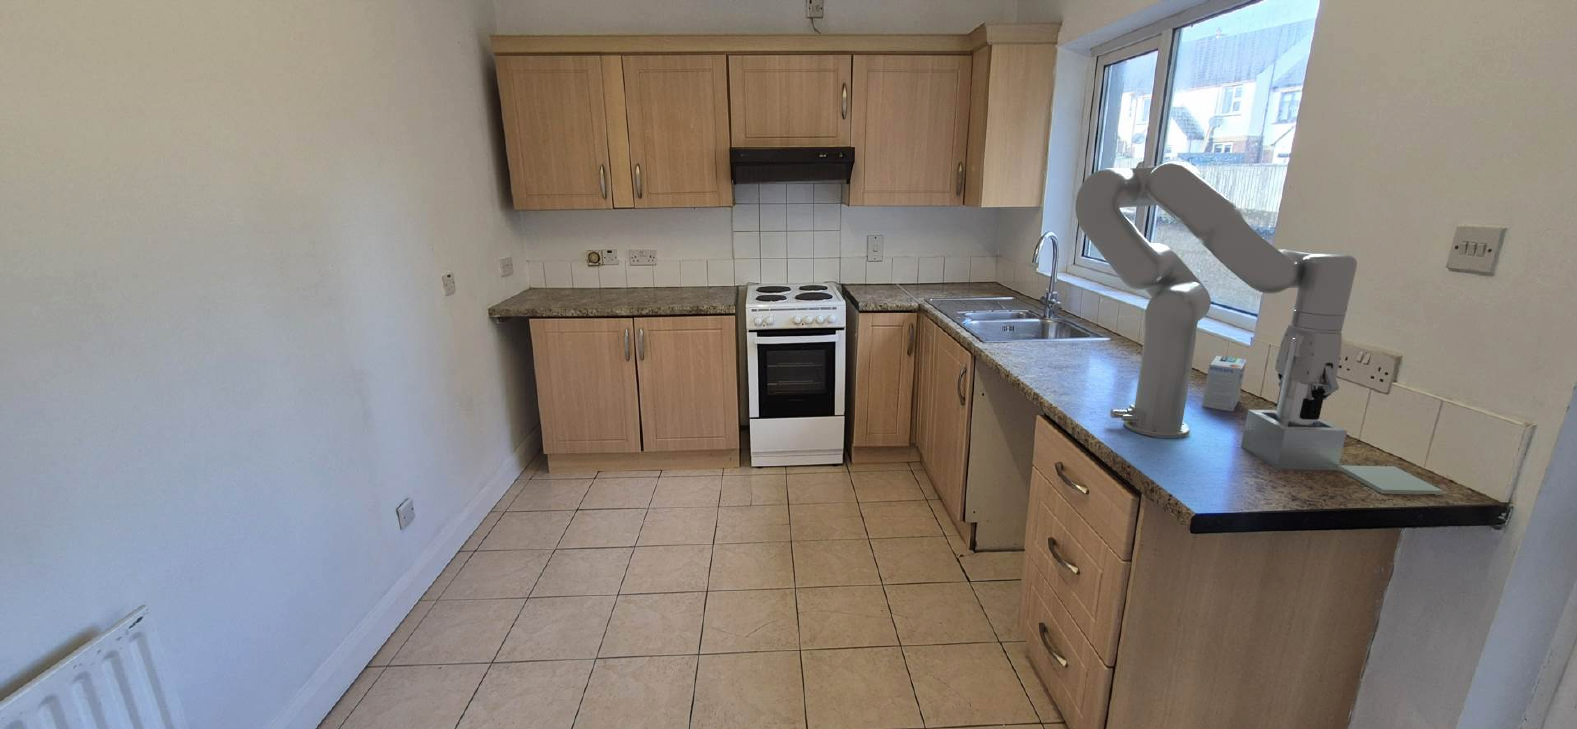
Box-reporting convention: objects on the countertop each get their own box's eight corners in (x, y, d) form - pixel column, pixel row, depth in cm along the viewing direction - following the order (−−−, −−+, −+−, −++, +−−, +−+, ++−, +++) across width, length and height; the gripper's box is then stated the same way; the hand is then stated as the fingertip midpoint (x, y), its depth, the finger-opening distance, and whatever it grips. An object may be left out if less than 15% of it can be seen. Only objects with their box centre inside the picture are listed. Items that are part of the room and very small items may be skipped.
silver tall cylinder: (1315, 466, 124) (1345, 339, 117) (1276, 463, 126) (1304, 337, 119) (1296, 452, 130) (1324, 331, 124) (1260, 450, 132) (1286, 329, 125)
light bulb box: (1207, 395, 165) (1215, 354, 163) (1239, 400, 161) (1247, 359, 158) (1200, 406, 157) (1208, 363, 155) (1234, 412, 153) (1242, 368, 150)
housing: (1276, 469, 123) (1285, 429, 121) (1240, 446, 134) (1248, 409, 131) (1337, 470, 122) (1347, 430, 120) (1296, 447, 133) (1304, 410, 131)
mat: (1381, 493, 113) (1382, 489, 113) (1338, 469, 123) (1338, 465, 123) (1441, 494, 113) (1443, 490, 112) (1393, 470, 122) (1394, 466, 122)
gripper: (1265, 312, 129) (1248, 398, 134) (1330, 331, 112) (1308, 429, 117) (1305, 312, 129) (1286, 399, 134) (1376, 331, 112) (1351, 429, 117)
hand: (1297, 412), depth 125 cm, fingers closed on silver tall cylinder, 5 cm apart
